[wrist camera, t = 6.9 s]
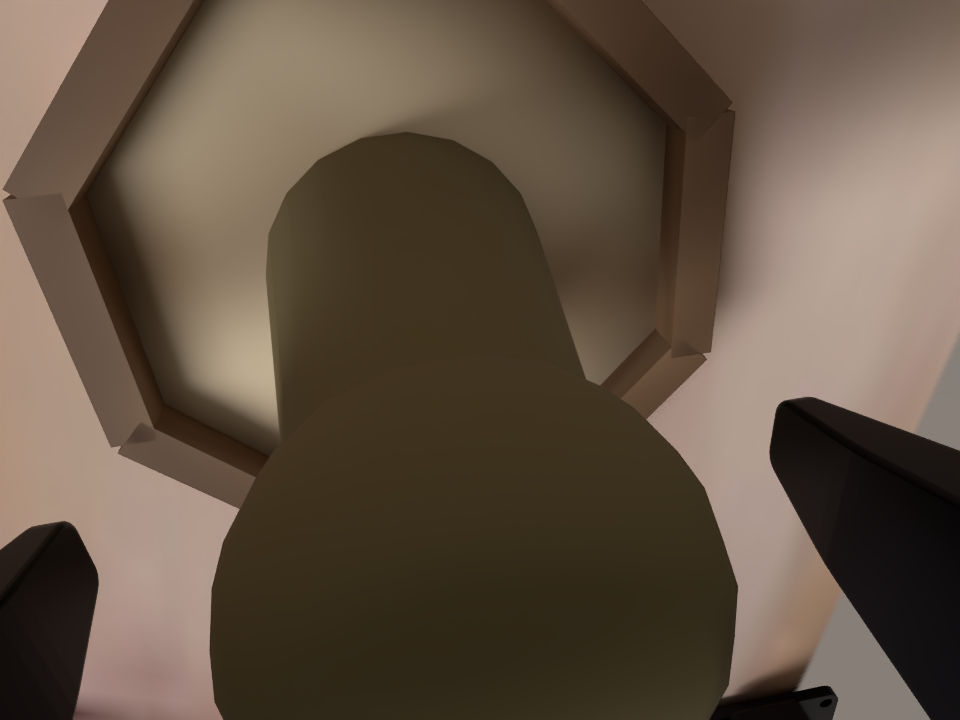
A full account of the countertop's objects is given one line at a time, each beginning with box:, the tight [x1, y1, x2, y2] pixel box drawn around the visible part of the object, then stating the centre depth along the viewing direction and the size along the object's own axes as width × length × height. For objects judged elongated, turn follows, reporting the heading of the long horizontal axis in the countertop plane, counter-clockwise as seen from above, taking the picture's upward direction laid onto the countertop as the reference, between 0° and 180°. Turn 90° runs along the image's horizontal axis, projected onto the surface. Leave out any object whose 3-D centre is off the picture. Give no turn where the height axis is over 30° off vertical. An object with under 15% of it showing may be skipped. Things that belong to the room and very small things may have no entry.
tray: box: [3, 0, 735, 509], centre depth 15 cm, size 14×14×2 cm
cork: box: [210, 132, 738, 720], centre depth 10 cm, size 6×6×11 cm
